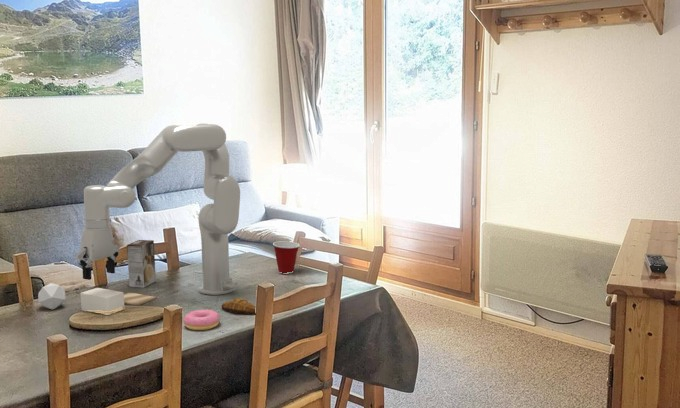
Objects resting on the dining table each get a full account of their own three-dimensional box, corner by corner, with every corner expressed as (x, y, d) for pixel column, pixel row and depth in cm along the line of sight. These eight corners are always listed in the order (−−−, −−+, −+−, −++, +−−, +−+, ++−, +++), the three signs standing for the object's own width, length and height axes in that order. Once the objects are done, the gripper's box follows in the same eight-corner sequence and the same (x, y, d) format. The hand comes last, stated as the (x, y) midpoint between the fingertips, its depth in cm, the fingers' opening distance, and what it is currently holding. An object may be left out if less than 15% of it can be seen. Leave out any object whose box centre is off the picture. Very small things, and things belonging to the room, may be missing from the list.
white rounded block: (124, 309, 218) (123, 292, 217) (108, 316, 212) (106, 297, 211) (98, 304, 223) (97, 287, 222) (81, 310, 217) (80, 292, 216)
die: (71, 308, 221) (69, 282, 226) (54, 303, 214) (52, 275, 218) (50, 316, 223) (49, 289, 227) (32, 310, 215) (31, 283, 219)
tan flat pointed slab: (157, 298, 230) (157, 297, 230) (138, 305, 222) (137, 304, 222) (129, 293, 236) (129, 292, 236) (110, 300, 228) (110, 298, 228)
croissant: (215, 312, 216) (215, 297, 215) (228, 306, 222) (227, 292, 221) (251, 318, 210) (250, 303, 209) (262, 312, 216) (262, 297, 215)
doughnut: (176, 326, 203) (176, 312, 202) (207, 317, 210) (207, 305, 210) (196, 334, 195) (196, 321, 194) (227, 325, 203) (227, 312, 202)
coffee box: (140, 280, 254) (138, 239, 251) (156, 281, 252) (154, 240, 250) (128, 287, 245) (126, 244, 242) (144, 287, 244) (142, 245, 241)
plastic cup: (299, 276, 259) (298, 246, 257) (271, 276, 259) (271, 246, 257) (301, 269, 270) (300, 240, 268) (274, 269, 270) (274, 240, 268)
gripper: (109, 219, 222) (111, 269, 225) (66, 226, 207) (69, 280, 210) (126, 221, 219) (127, 272, 221) (83, 229, 204) (85, 283, 206)
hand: (99, 275), depth 215 cm, fingers open, 9 cm apart
